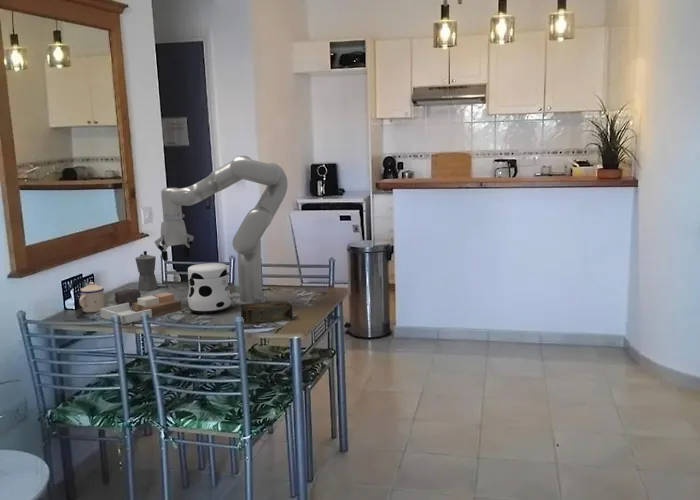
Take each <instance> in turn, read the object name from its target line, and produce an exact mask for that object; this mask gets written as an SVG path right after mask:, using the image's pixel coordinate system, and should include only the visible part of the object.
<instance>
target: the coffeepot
mask: <svg viewBox="0 0 700 500" xmlns="http://www.w3.org/2000/svg"><path fill="white" fill-rule="evenodd" d="M147 252H148V251H146V250H144V251H143V253H141V254H139V256H137V257H135V263H136V266H137V267H136V268H137V272H138V273H139V274H138V275H139V276H138V285H137V290H139V291H140V292H141V291H142V292H145V291H146V292H147V291H148V292H150V291H155V290H157V289H158V287H159V285H158V282H157V278H156V274H155V270H156V255H151V254H148V253H147Z"/></svg>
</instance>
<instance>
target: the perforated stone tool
mask: <svg viewBox="0 0 700 500" xmlns="http://www.w3.org/2000/svg"><path fill="white" fill-rule="evenodd" d="M141 295H142V294H141V291H140V290H138V288H137V289H136V288H128V289H123V290H118V291H116V292H114V302H115V303H116V305H119V304H124V303H129V305H130V306H132V303H135V302H138V300H137V298H141Z"/></svg>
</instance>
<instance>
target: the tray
mask: <svg viewBox="0 0 700 500" xmlns="http://www.w3.org/2000/svg"><path fill="white" fill-rule="evenodd" d="M130 306H131V305H129V303H124V304H119V305H117V304H116V305H111V306H107V307H106V306H105V308H101V309H100V311H99V312H100V313H99V314H100V318H102V319H105V320H107V319H110V318H111V316H112V314H113V313H116V314H118V315H119V316H120V318H121V321H122V323H123V324H125V323H130V324H133V323H132V322H134V323H137V322H138V323H139V322H141V321H140V315H141V313H142V312H145V313H148V314H149V316H150V318H151V319H153V317H152V311H151V309H148V310H144V311H139V312H135V311H132V310H131V308H130Z"/></svg>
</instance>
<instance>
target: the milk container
mask: <svg viewBox="0 0 700 500" xmlns="http://www.w3.org/2000/svg"><path fill="white" fill-rule="evenodd" d="M187 277H188V278H187V281H188V293H187V298H186V300H187V306H188V308H189V310H190V311H192V312H194V313H200V314H205V313H206V314H210V313H211V314H212V313H218V312H221V311H224V310H227V309H228V308H229V307H230V306H231V303H232V294H231V290H230V288H229V275H228V266H227V264H225V263H221V262H219V263H218V262H210V263H209V262H207V263H198V264H192V265H191V266H189V267H188V268H187Z"/></svg>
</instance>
